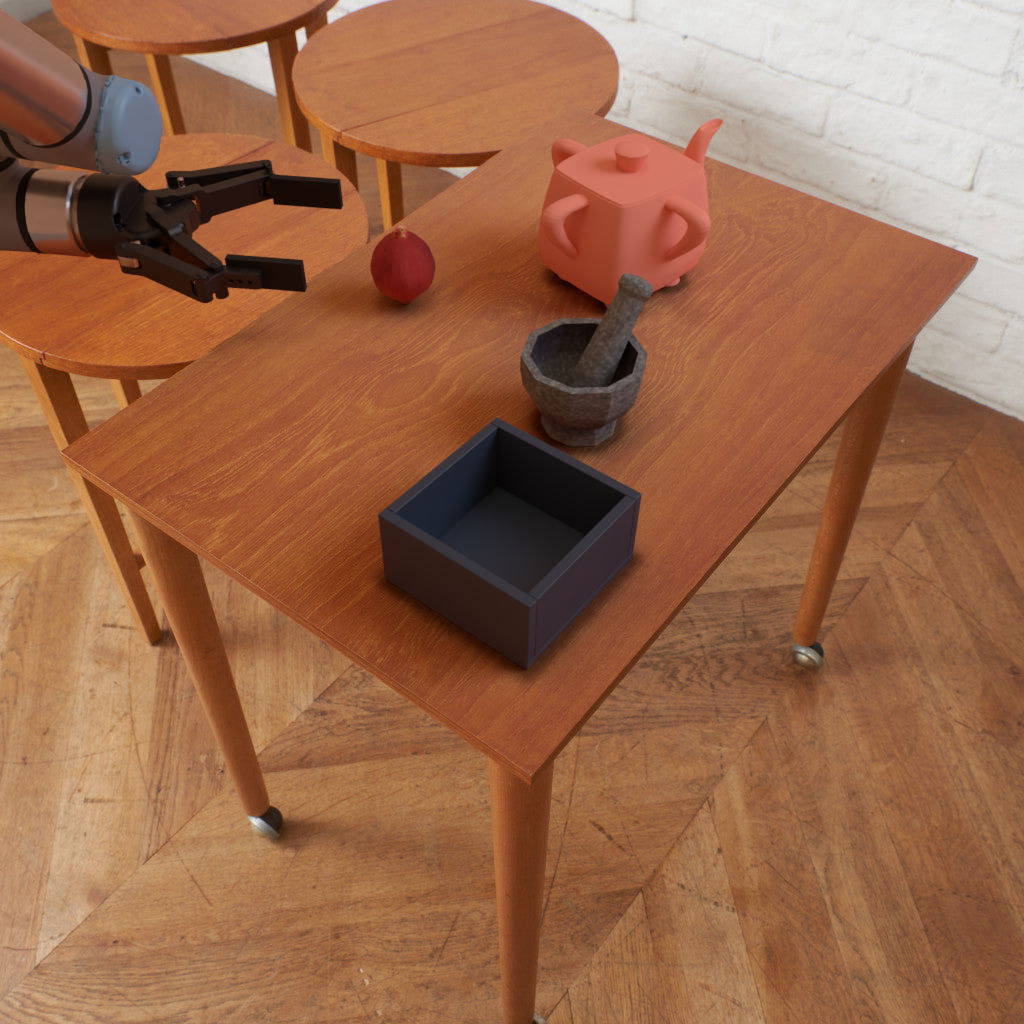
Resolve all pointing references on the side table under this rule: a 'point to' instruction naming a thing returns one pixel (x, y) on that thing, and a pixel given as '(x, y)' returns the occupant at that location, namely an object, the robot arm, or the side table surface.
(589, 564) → the dark blue open box
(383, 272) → the onion
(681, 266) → the teapot
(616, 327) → the mortar and pestle
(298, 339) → the side table surface
